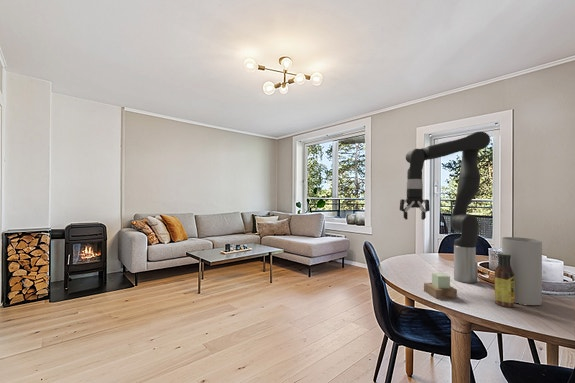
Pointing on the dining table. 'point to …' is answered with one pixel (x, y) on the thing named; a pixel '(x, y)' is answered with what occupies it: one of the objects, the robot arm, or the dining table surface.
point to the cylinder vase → (525, 268)
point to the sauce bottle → (504, 282)
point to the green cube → (440, 280)
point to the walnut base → (440, 291)
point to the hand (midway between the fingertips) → (414, 219)
